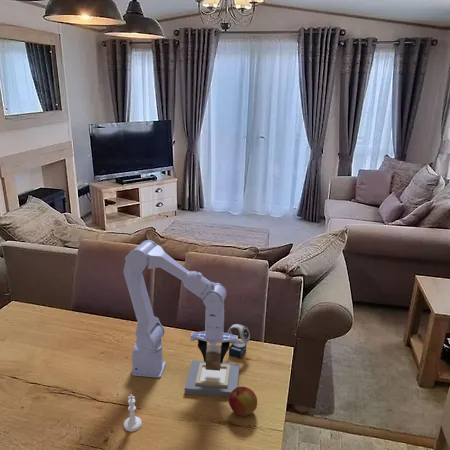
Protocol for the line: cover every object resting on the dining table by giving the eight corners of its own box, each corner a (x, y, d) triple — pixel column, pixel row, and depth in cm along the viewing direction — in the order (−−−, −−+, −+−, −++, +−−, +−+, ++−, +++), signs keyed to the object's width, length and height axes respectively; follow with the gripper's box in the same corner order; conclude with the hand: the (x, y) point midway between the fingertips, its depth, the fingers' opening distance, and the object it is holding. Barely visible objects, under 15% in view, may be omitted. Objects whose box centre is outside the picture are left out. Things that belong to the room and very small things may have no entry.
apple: (236, 399, 126) (237, 377, 123) (260, 409, 122) (262, 387, 119) (223, 415, 119) (224, 392, 117) (248, 426, 116) (250, 403, 113)
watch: (245, 360, 144) (246, 332, 141) (224, 354, 147) (225, 326, 144) (251, 351, 149) (252, 325, 146) (230, 345, 152) (231, 319, 149)
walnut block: (205, 369, 130) (205, 353, 128) (207, 360, 134) (207, 344, 132) (219, 370, 129) (220, 354, 127) (221, 361, 134) (221, 345, 132)
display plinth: (184, 393, 127) (184, 386, 126) (192, 365, 141) (192, 358, 140) (236, 398, 126) (236, 390, 125) (239, 369, 139) (239, 362, 139)
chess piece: (124, 418, 117) (123, 389, 114) (142, 417, 118) (141, 388, 114) (122, 432, 112) (120, 401, 109) (140, 431, 113) (139, 401, 110)
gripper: (188, 328, 124) (188, 366, 128) (237, 331, 123) (235, 370, 127) (192, 316, 130) (192, 353, 135) (238, 319, 129) (237, 356, 133)
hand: (213, 360), depth 131 cm, fingers closed on walnut block, 4 cm apart
